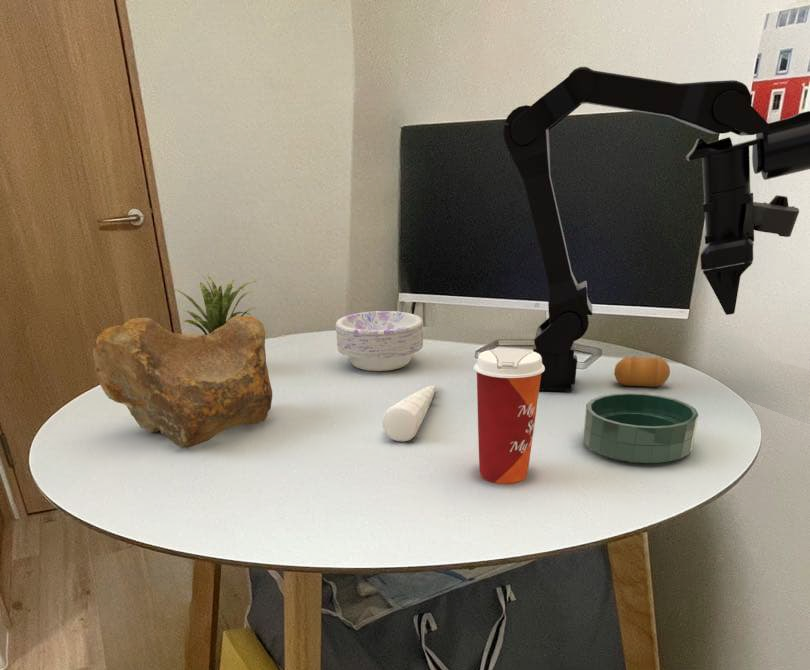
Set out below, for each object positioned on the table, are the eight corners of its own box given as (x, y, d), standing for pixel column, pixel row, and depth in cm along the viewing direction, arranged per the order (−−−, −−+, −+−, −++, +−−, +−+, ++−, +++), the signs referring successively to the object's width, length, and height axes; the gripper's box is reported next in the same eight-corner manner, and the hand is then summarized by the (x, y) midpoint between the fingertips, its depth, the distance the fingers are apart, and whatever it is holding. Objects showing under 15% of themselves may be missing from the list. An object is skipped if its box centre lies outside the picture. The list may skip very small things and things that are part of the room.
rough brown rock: (121, 474, 87) (98, 356, 79) (104, 423, 99) (83, 316, 91) (300, 446, 96) (296, 337, 88) (264, 403, 108) (258, 304, 100)
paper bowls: (361, 381, 117) (359, 333, 113) (325, 361, 128) (321, 316, 125) (439, 367, 123) (439, 321, 119) (397, 349, 135) (396, 307, 131)
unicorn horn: (457, 390, 111) (458, 360, 109) (416, 445, 92) (415, 409, 89) (428, 388, 113) (428, 358, 110) (381, 441, 93) (380, 406, 91)
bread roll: (613, 388, 111) (617, 360, 109) (611, 380, 115) (615, 353, 113) (669, 390, 109) (673, 362, 107) (665, 382, 113) (670, 355, 111)
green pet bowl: (583, 464, 85) (588, 424, 83) (581, 426, 96) (585, 391, 94) (698, 470, 83) (706, 430, 80) (682, 431, 94) (688, 395, 92)
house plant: (289, 368, 125) (279, 271, 117) (233, 388, 115) (219, 283, 107) (231, 358, 132) (218, 265, 124) (174, 376, 122) (155, 277, 114)
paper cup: (534, 490, 79) (544, 366, 72) (466, 485, 80) (470, 363, 73) (537, 463, 86) (546, 347, 79) (474, 459, 87) (478, 345, 80)
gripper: (797, 180, 84) (797, 312, 91) (792, 168, 98) (792, 282, 105) (697, 203, 89) (704, 326, 96) (706, 188, 103) (711, 296, 110)
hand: (731, 306), depth 101 cm, fingers open, 9 cm apart
